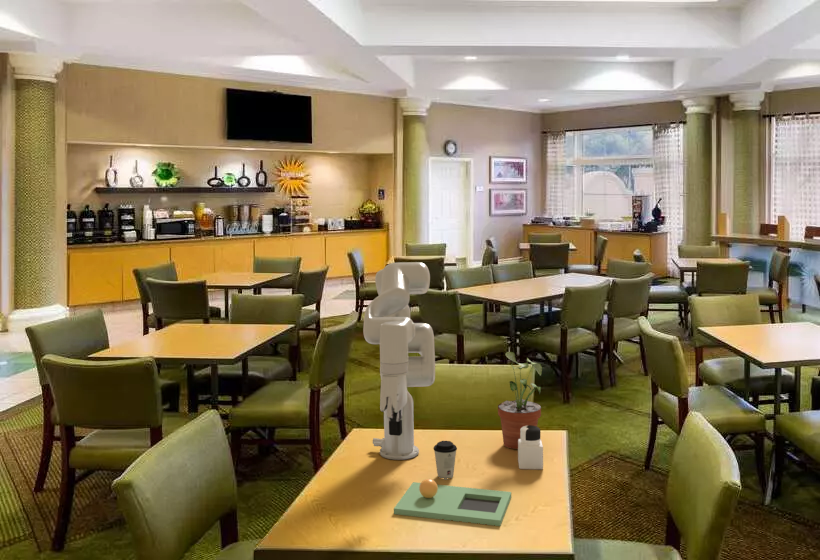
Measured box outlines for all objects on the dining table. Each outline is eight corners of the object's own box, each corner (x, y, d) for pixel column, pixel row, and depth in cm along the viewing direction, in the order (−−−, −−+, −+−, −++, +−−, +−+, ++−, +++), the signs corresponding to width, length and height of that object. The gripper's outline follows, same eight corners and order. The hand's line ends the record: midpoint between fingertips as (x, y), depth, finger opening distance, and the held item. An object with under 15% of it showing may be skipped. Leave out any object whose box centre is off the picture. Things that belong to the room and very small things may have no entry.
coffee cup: (455, 481, 209) (455, 448, 208) (431, 480, 210) (431, 447, 209) (458, 472, 216) (458, 440, 215) (435, 471, 217) (435, 439, 216)
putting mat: (393, 513, 188) (393, 508, 188) (413, 487, 206) (413, 482, 205) (500, 526, 180) (500, 520, 180) (511, 497, 198) (511, 492, 197)
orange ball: (417, 500, 193) (416, 482, 193) (422, 492, 198) (421, 475, 197) (435, 502, 192) (435, 484, 191) (439, 494, 197) (439, 476, 196)
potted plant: (534, 456, 228) (534, 347, 224) (490, 448, 236) (490, 343, 232) (552, 442, 241) (552, 338, 237) (509, 434, 249) (509, 335, 245)
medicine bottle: (541, 461, 224) (541, 423, 223) (543, 469, 217) (543, 431, 216) (517, 460, 225) (518, 423, 223) (519, 469, 218) (519, 430, 216)
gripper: (389, 361, 201) (391, 425, 203) (371, 373, 187) (373, 442, 189) (415, 362, 199) (416, 427, 201) (399, 375, 185) (400, 444, 187)
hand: (395, 434), depth 195 cm, fingers closed
